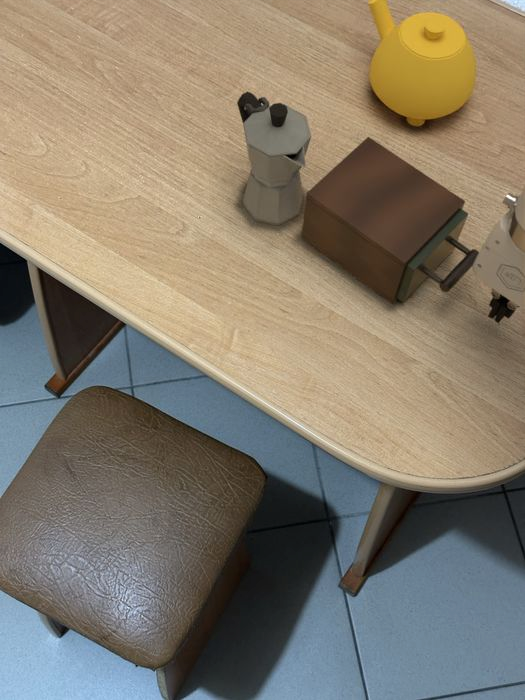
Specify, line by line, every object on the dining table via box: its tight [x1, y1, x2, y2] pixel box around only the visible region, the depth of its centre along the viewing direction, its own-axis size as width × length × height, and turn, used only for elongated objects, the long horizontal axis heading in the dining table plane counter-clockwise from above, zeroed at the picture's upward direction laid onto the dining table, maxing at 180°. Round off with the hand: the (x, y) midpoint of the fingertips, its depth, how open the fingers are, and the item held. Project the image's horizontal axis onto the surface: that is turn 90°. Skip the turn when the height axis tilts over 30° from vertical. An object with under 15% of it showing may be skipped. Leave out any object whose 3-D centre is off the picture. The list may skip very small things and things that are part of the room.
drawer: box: [396, 209, 479, 303], centre depth 110 cm, size 19×12×8 cm, turn 49°
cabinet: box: [301, 136, 466, 305], centre depth 111 cm, size 16×13×10 cm
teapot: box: [367, 0, 477, 127], centre depth 123 cm, size 20×16×14 cm
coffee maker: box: [236, 91, 312, 227], centre depth 111 cm, size 15×9×18 cm, turn 33°
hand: (499, 312), depth 107 cm, fingers closed
